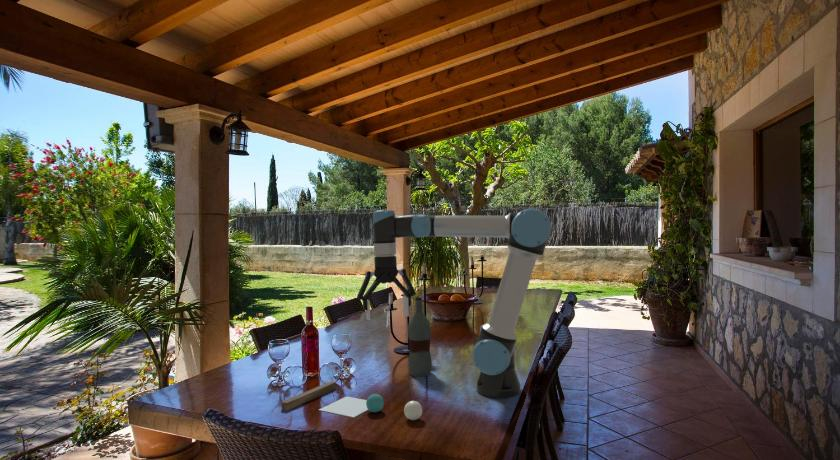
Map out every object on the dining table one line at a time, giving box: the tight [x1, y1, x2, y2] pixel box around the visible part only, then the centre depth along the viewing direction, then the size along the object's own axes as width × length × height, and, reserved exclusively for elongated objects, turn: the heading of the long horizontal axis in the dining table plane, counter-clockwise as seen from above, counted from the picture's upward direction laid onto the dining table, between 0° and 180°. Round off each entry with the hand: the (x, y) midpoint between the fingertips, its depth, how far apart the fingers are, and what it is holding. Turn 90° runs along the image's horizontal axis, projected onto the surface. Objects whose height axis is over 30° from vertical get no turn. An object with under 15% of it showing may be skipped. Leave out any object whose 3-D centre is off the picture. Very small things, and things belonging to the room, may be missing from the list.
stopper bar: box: [281, 381, 337, 412], centre depth 173 cm, size 2×24×2 cm, turn 150°
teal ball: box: [366, 393, 385, 413], centre depth 159 cm, size 6×6×6 cm
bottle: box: [407, 296, 433, 377], centre depth 200 cm, size 9×9×30 cm
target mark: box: [318, 395, 369, 418], centre depth 164 cm, size 14×14×1 cm
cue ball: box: [403, 400, 423, 421], centre depth 152 cm, size 6×6×6 cm
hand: (387, 318), depth 173 cm, fingers open, 13 cm apart
